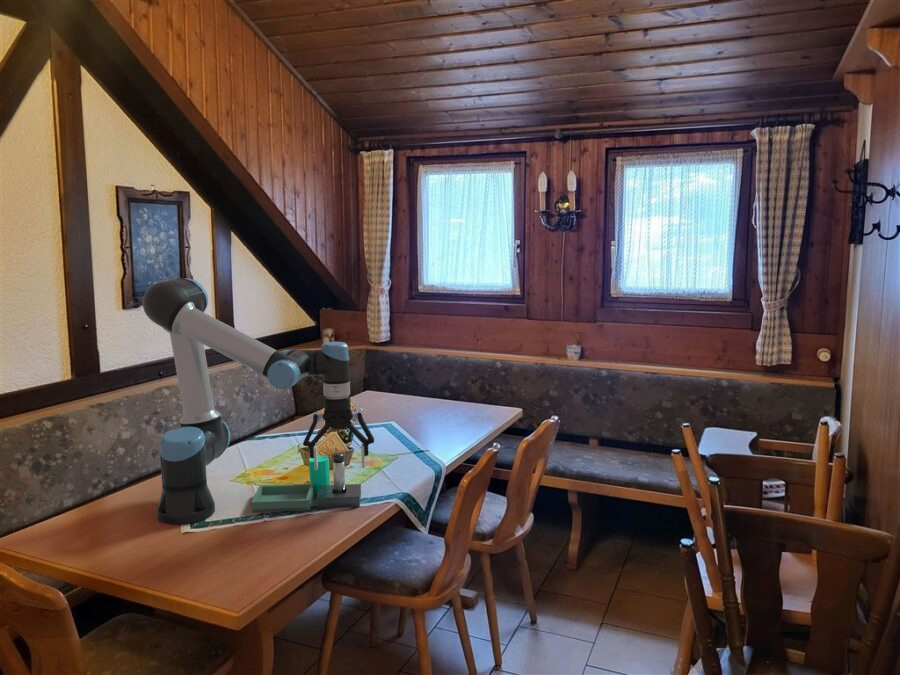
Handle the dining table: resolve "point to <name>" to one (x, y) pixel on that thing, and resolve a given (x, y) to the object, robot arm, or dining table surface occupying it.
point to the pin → (339, 473)
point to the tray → (283, 498)
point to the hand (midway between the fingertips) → (339, 467)
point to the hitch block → (339, 496)
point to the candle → (319, 472)
